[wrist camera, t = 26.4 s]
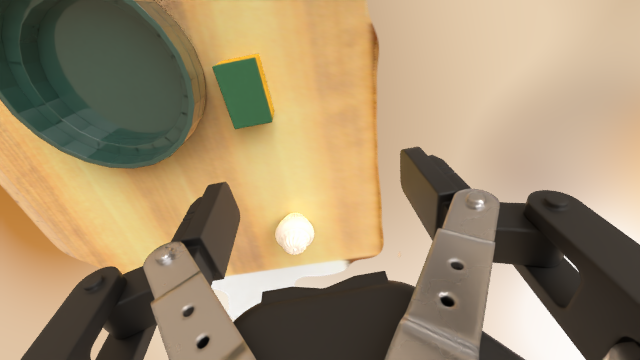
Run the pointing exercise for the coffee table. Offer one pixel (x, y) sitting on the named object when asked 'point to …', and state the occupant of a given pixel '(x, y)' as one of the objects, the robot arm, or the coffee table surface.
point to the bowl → (100, 78)
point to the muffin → (294, 233)
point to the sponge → (245, 90)
